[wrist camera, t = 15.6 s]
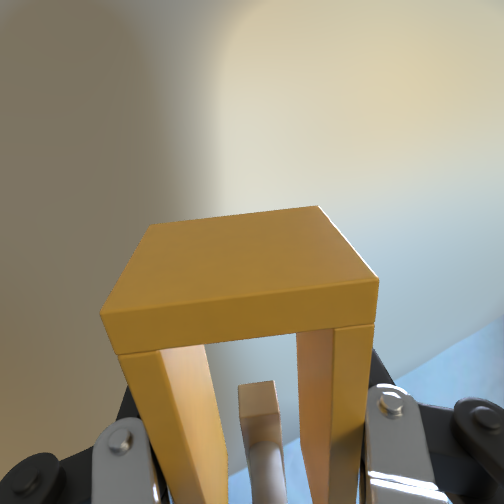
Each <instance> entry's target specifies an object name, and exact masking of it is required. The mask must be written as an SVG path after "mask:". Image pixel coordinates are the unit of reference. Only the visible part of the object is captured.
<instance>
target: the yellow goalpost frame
mask: <svg viewBox="0 0 504 504" xmlns="http://www.w3.org/2000/svg"><path fill="white" fill-rule="evenodd" d="M378 287H379V278H378V276H377V275H376V274H375V273H374V272H373V271H372V269H371V268H370V267H369V266H368V264H367V263H366V262H365V261H364V260H363V258H362V257H361V256H360V255H359V254H358V252H357V251H356V250H355V249H354V248H353V246H352V245H351V244H350V243H349V242H348V240H347V239H346V238H345V237H344V235H343V234H342V233H341V232H340V231H339V230H338V229H337V227H336V226H335V225H334V223H333V222H332V221H331V220H330V219H329V217H327V215H326V214H325V213H324V212H323V210H322V209H321V208H320V207H319V206H318V205H317V206H309V207H299V208H291V209H283V210H274V211H266V212H256V213H247V214H239V215H230V216H221V217H213V218H204V219H195V220H187V221H178V222H170V223H160V224H152V225H150V226H149V227H148V229H147V231H146V232H145V234H144V236H143V238H142V239H141V241H140V243H139V244H138V246H137V248H136V250H135V252H134V253H133V255H132V256H131V258H130V260H129V262H128V263H127V265H126V267H125V269H124V270H123V272H122V274H121V276H120V277H119V279H118V281H117V282H116V284H115V286H114V288H113V289H112V291H111V293H110V295H109V296H108V298H107V300H106V301H105V303H104V305H103V307H102V308H101V310H100V317H101V319H102V322H103V324H104V327H105V329H106V332H107V335H108V337H109V339H110V342H111V345H112V347H113V350H114V352H115V354H116V355H118V360H119V363H120V366H121V368H122V371H123V373H124V376H125V378H126V381H127V384H128V386H129V389H130V391H131V394H132V397H133V399H134V402H135V404H136V407H137V409H138V412H139V414H140V417H141V420H142V422H143V425H144V427H145V430H146V432H147V435H148V437H149V440H150V443H151V445H152V448H153V450H154V453H155V455H156V458H157V460H158V463H159V466H160V468H161V471H162V473H163V476H164V478H165V481H166V483H167V486H168V489H169V491H170V494H171V496H172V499H173V501H174V504H228V454H227V450H226V445H225V440H224V435H223V431H222V426H221V422H220V417H219V412H218V408H217V404H216V398H215V394H214V390H213V385H212V380H211V375H210V371H209V366H208V361H207V357H206V352H205V348H204V344H211V343H219V342H227V341H235V340H243V339H251V338H259V337H267V336H275V335H284V334H291V333H296V342H297V366H298V367H297V368H298V393H299V417H300V418H299V419H300V445H301V450H302V455H303V459H304V464H305V469H306V473H307V478H308V483H309V487H310V492H311V497H312V502H313V504H356V496H357V487H358V478H359V468H360V459H361V449H362V440H363V431H364V421H365V412H366V402H367V393H368V384H369V374H370V365H371V355H372V346H373V337H374V327H375V326H374V322H375V316H376V307H377V298H378Z"/></svg>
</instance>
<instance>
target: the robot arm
mask: <svg viewBox="0 0 504 504" xmlns="http://www.w3.org/2000/svg"><path fill="white" fill-rule="evenodd" d="M442 491H443V492H444V493H445V494H446V495H447V497H448V498H449V499H450V500H451V502H452V503H453V504H504V409H503V408H501V407H500V406H498V405H496V404H494V403H492V402H490V401H487V400H485V399H481V398H475V397H467V398H463V399H461V400H459V401H458V402H457V403H456V404H455V406H454V409H452V408H446V407H439V406H433V405H428V404H423V403H420V402H417V401H415V400H414V398H413V397H412V396H411V395H410V394H409V393H407V392H406V391H404V390H403V389H401V388H399V387H397V386H396V385H395V384H394V382H393V380H392V379H391V377H390V375H389V373H388V372H387V370H386V368H385V367H384V365H383V363H382V361H381V360H380V358H379V356H378V354H377V353H376V351H375V349H373V346H372V355H371V365H370V374H369V384H368V393H367V402H366V412H365V421H364V431H363V440H362V449H361V459H360V468H359V504H449V503H448V500H447V498H446V496H445V494H444V493H443V492H442ZM0 504H172V500H171V494H170V491H169V489H168V486H167V483H166V481H165V478H164V476H163V473H162V471H161V468H160V466H159V463H158V460H157V458H156V455H155V453H154V450H153V448H152V445H151V443H150V440H149V437H148V435H147V432H146V430H145V427H144V425H143V422H142V420H141V417H140V414H139V412H138V409H137V407H136V404H135V402H134V399H133V397H132V394H131V391H130V389H129V386H127V389H126V392H125V395H124V398H123V401H122V404H121V407H120V410H119V413H118V416H117V419H116V421H115V422H114V423H112V424H111V425H109V426H108V427H107V428H106V429H105V430H104V431H103V432H102V433H101V434H100V436H99V437H98V439H97V440H96V442H95V444H94V446H92V447H90V448H88V449H86V450H84V451H82V452H80V453H77V454H75V455H73V456H70V457H68V458H66V459H64V460H61V461H58V459H57V458H56V457H55V456H54V455H53V454H51V453H38V454H35V455H32V456H30V457H28V458H26V459H24V460H23V461H21V462H20V463H18V464H17V465H16V466H15V467H13V468H12V469H11V470H10V471H9V472H8V473H7V474H6V475H5V477H4V478H3V479H2V480H1V482H0Z"/></svg>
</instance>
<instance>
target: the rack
mask: <svg viewBox="0 0 504 504" xmlns="http://www.w3.org/2000/svg"><path fill="white" fill-rule="evenodd" d="M238 400H239V418H240V425H241V431H242V436H243V442H244V448H245V454H246V459H247V465H248V471H249V476H250V482H251V489H252V504H288V501H287V491H286V479H285V467H284V454H283V443H282V431H281V419H280V409H279V404H278V398H277V392H276V386H275V382H274V381H273V380H272V381H264V382H257V383H249V384H241V385H238Z"/></svg>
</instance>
